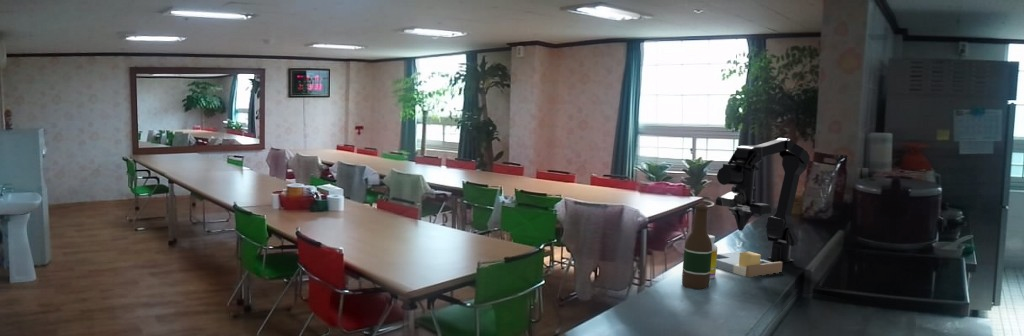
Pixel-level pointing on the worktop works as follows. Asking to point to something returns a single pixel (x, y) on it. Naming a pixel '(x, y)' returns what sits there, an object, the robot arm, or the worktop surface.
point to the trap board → (732, 264)
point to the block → (749, 258)
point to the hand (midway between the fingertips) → (740, 230)
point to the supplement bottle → (713, 257)
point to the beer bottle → (697, 253)
